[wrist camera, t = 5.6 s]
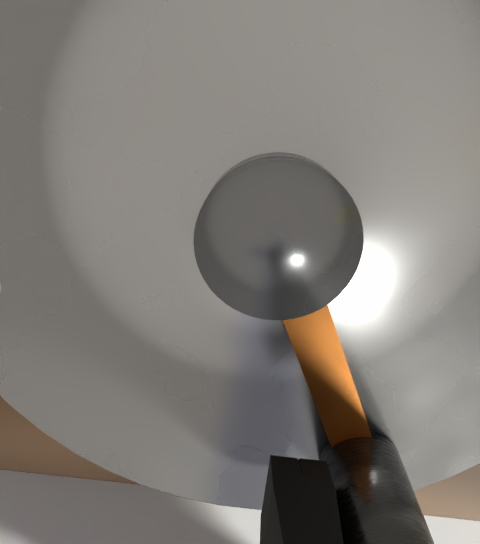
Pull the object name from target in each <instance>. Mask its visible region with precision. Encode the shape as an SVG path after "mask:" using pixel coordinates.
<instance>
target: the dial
mask: <svg viewBox="0 0 480 544" xmlns="http://www.w3.org/2000/svg"><path fill="white" fill-rule="evenodd" d="M0 396H1V397H2V398H3V399H4V400H5V401H6V402H7V403H8V404H9V405H10V406H11V407H13V408H14V409H15V410H16V411H18V412H19V413H20V414H21V415H23V416H24V417H25V418H26V419H27V420H29V421H30V422H31V423H32V424H34V425H35V426H36V427H37V428H39V429H40V430H41V431H42V432H44V433H45V434H47V435H48V436H50V437H51V438H53V439H54V440H56V441H57V442H59V443H61V444H62V445H64V446H65V447H67V448H68V449H70V450H71V451H73V452H74V453H76V454H78V455H79V456H81V457H83V458H85V459H87V460H89V461H91V462H93V463H95V464H97V465H98V466H100V467H102V468H104V469H106V470H108V471H110V472H112V473H115V474H117V475H119V476H122V477H124V478H127V479H129V480H132V481H134V482H136V483H139V484H141V485H144V486H146V487H149V488H153V489H156V490H159V491H163V492H166V493H169V494H172V495H176V496H179V497H182V498H187V499H192V500H197V501H201V502H206V503H211V504H216V505H222V506H231V507H240V508H249V509H258V510H262V506H263V499H264V493H265V486H266V480H267V473H268V467H269V460H270V455H273V456H283V457H293V458H297V459H300V458H302V459H312V460H322V461H326V462H327V465H328V467H329V470H330V473H331V476H332V480H333V483H334V486H335V490H336V495H337V502H338V508H339V515H340V522H341V529H342V536H343V544H434V542H433V539H432V537H431V534H430V531H429V529H428V526H427V524H426V521H425V519H424V516H423V514H422V511H421V508H420V506H419V503H418V501H417V498H416V496H415V493H414V490H416V489H419V488H422V487H424V486H427V485H430V484H433V483H435V482H438V481H441V480H444V479H446V478H449V477H452V476H454V475H456V474H458V473H460V472H462V471H464V470H467V469H469V468H471V467H473V466H475V465H477V464H479V463H480V0H0Z"/></svg>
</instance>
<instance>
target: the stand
mask: <svg viewBox="0 0 480 544" xmlns="http://www.w3.org/2000/svg"><path fill="white" fill-rule="evenodd" d="M0 469H1V470H11V471H20V472H29V473H38V474H48V475H57V476H66V477H75V478H85V479H94V480H103V481H113V482H122V483H131V484H139V483H136V482H134V481H132V480H129V479H127V478H124V477H122V476H119V475H117V474H115V473H112V472H110V471H108V470H106V469H104V468H102V467H100V466H98V465H97V464H95V463H93V462H91V461H89V460H87V459H85V458H83V457H81V456H79V455H78V454H76V453H74V452H73V451H71V450H70V449H68V448H67V447H65V446H64V445H62V444H61V443H59V442H57V441H56V440H54V439H53V438H51V437H50V436H48V435H47V434H45V433H44V432H42V431H41V430H40V429H39V428H37V427H36V426H35V425H34V424H32V423H31V422H30V421H29V420H27V419H26V418H25V417H24V416H23V415H21V414H20V413H19V412H18V411H16V410H15V409H14V408H13V407H11V406H10V405H9V404H8V403H7V402H6V401H5V400H4V399H3V398H2V397H1V396H0ZM140 485H141V484H140ZM414 493H415V496H416V498H417V501H418V503H419V506H420V508H421V511H422V514H423V515H428V516H437V517H447V518H456V519H465V520H474V521H480V463H479V464H477V465H475V466H473V467H471V468H469V469H467V470H464V471H462V472H460V473H458V474H456V475H454V476H452V477H449V478H446V479H444V480H441V481H438V482H435V483H433V484H430V485H427V486H424V487H422V488H419V489H416V490H414Z"/></svg>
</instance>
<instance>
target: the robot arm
mask: <svg viewBox="0 0 480 544" xmlns="http://www.w3.org/2000/svg"><path fill="white" fill-rule="evenodd" d="M260 544H343V536H342V529H341V522H340V515H339V508H338V502H337V495H336V490H335V486H334V483H333V480H332V476H331V473H330V470H329V467H328V465H327V462H326V461H322V460H312V459H302V458H300V459H297V458H293V457H283V456H273V455H270V460H269V467H268V473H267V480H266V486H265V493H264V499H263V506H262V512H261V530H260Z"/></svg>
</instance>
